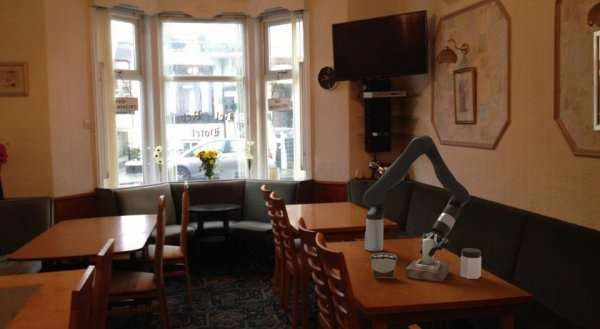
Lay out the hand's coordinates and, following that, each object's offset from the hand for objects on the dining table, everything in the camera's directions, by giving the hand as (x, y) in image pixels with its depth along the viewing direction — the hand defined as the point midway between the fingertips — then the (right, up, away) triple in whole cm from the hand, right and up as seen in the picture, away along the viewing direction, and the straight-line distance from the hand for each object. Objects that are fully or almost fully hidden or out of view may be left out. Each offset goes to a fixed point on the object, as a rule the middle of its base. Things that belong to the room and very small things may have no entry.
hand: (425, 254), depth 231 cm
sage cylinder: (+2, -4, +1) cm, 5 cm away
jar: (+20, -10, -1) cm, 23 cm away
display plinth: (+2, -10, +2) cm, 10 cm away
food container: (-19, -10, +1) cm, 21 cm away
